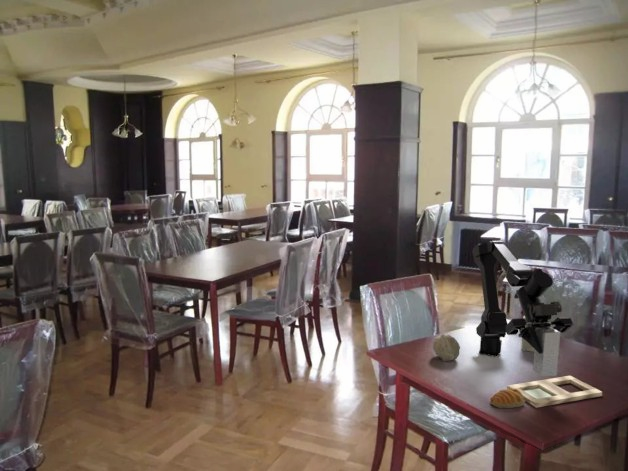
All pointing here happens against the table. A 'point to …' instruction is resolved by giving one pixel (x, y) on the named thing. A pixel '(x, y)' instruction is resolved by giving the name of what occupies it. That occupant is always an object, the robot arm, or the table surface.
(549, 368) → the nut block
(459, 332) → the table surface
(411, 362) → the table surface
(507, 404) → the pastry
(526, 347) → the skincare box
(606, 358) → the table surface
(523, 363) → the table surface
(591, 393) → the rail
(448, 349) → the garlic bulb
